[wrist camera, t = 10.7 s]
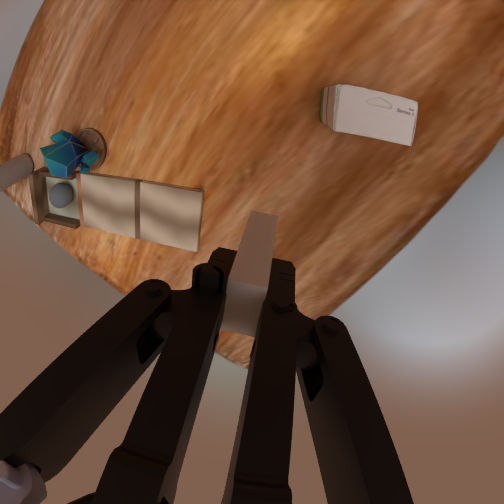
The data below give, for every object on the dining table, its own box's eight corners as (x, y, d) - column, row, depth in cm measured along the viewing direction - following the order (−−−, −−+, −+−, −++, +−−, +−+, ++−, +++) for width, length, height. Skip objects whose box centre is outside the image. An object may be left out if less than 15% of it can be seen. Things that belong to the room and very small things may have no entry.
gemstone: (80, 117, 38) (28, 132, 27) (115, 144, 40) (67, 164, 29) (65, 153, 41) (17, 176, 31) (98, 180, 43) (52, 208, 33)
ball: (64, 184, 40) (72, 177, 43) (42, 190, 39) (51, 182, 43) (70, 209, 42) (77, 200, 46) (49, 214, 41) (57, 204, 45)
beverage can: (22, 149, 41) (-22, 169, 31) (36, 158, 42) (-9, 180, 32) (19, 170, 44) (-23, 192, 33) (32, 179, 44) (-10, 204, 34)
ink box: (318, 122, 35) (329, 133, 25) (321, 86, 32) (334, 81, 22) (381, 132, 34) (413, 149, 24) (385, 97, 32) (420, 101, 22)
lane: (42, 167, 43) (28, 174, 39) (204, 190, 42) (196, 200, 39) (47, 214, 48) (35, 223, 45) (198, 248, 47) (191, 262, 44)
